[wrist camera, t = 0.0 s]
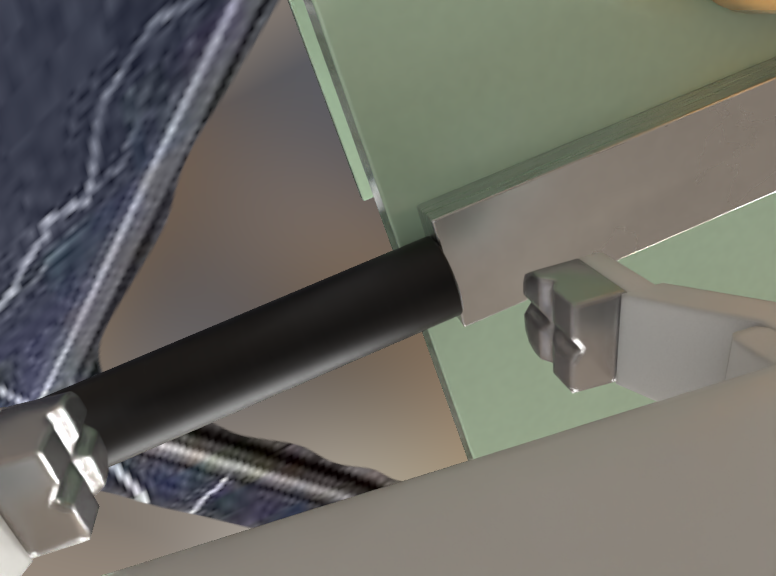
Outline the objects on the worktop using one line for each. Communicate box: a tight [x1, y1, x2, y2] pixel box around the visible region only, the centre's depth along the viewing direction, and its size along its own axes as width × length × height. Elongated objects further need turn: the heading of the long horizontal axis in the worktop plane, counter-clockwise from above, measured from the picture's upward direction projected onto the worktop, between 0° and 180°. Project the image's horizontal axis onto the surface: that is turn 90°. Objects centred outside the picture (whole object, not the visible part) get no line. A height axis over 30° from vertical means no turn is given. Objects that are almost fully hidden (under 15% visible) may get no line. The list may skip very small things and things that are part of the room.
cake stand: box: [288, 0, 776, 461], centre depth 24 cm, size 18×18×30 cm
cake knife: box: [40, 57, 776, 467], centre depth 13 cm, size 25×3×2 cm, turn 108°
